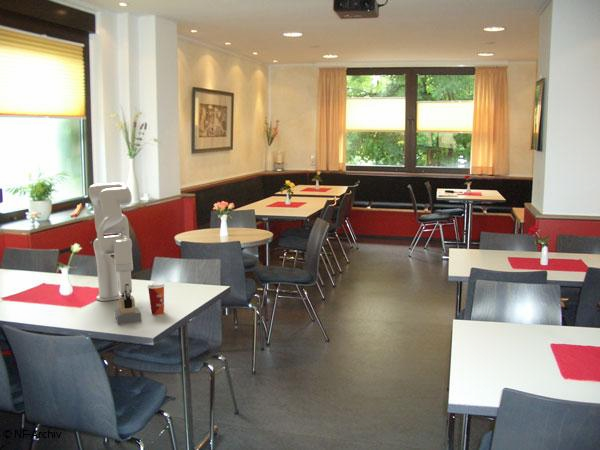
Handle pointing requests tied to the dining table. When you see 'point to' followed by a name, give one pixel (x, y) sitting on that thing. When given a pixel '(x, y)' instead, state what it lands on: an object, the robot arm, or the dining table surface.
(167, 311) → the dining table surface
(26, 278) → the dining table surface
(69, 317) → the dining table surface
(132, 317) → the slate pedestal
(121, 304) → the oak cube
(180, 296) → the dining table surface
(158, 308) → the paper cup
